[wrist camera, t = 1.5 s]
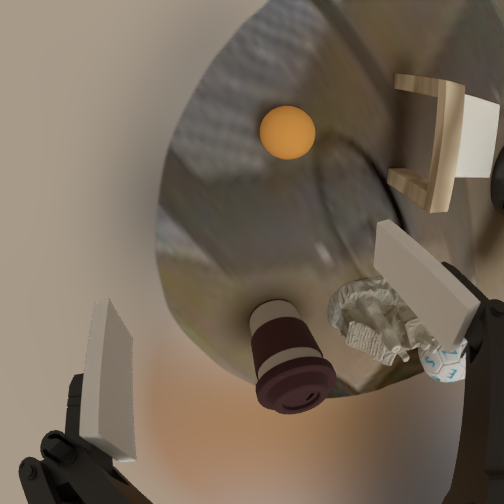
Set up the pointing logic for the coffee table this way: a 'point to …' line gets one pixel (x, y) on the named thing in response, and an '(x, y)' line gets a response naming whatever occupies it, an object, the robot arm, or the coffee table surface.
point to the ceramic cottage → (377, 320)
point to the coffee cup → (287, 360)
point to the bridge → (445, 144)
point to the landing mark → (477, 138)
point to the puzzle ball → (444, 363)
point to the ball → (287, 132)
